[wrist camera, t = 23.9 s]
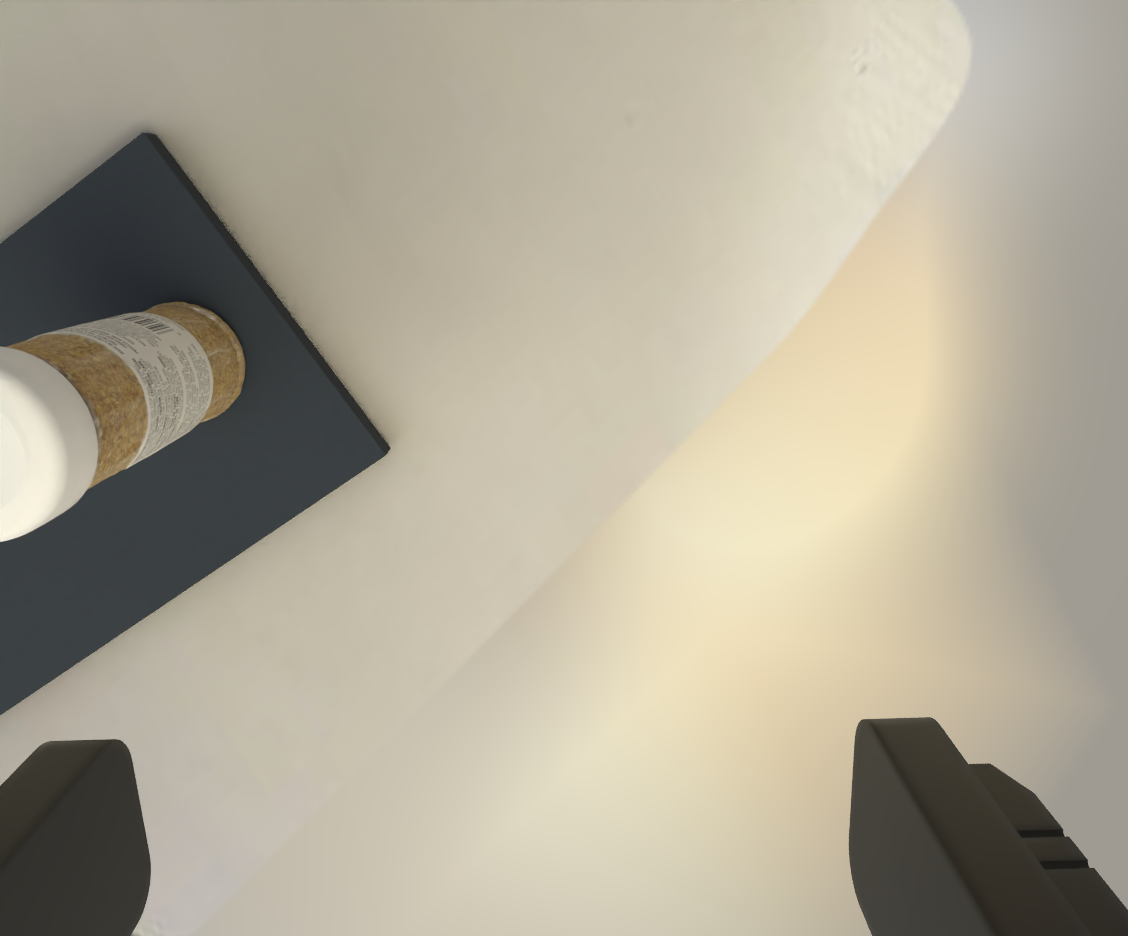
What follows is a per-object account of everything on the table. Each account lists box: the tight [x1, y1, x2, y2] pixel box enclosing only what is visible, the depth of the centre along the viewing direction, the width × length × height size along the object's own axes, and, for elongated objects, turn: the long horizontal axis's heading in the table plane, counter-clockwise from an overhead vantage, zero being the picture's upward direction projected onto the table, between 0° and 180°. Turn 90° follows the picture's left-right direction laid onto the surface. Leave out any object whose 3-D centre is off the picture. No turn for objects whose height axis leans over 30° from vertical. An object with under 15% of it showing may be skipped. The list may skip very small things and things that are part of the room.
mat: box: [0, 132, 390, 715], centre depth 36 cm, size 24×14×1 cm, turn 124°
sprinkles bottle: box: [0, 302, 245, 542], centre depth 28 cm, size 5×5×14 cm
